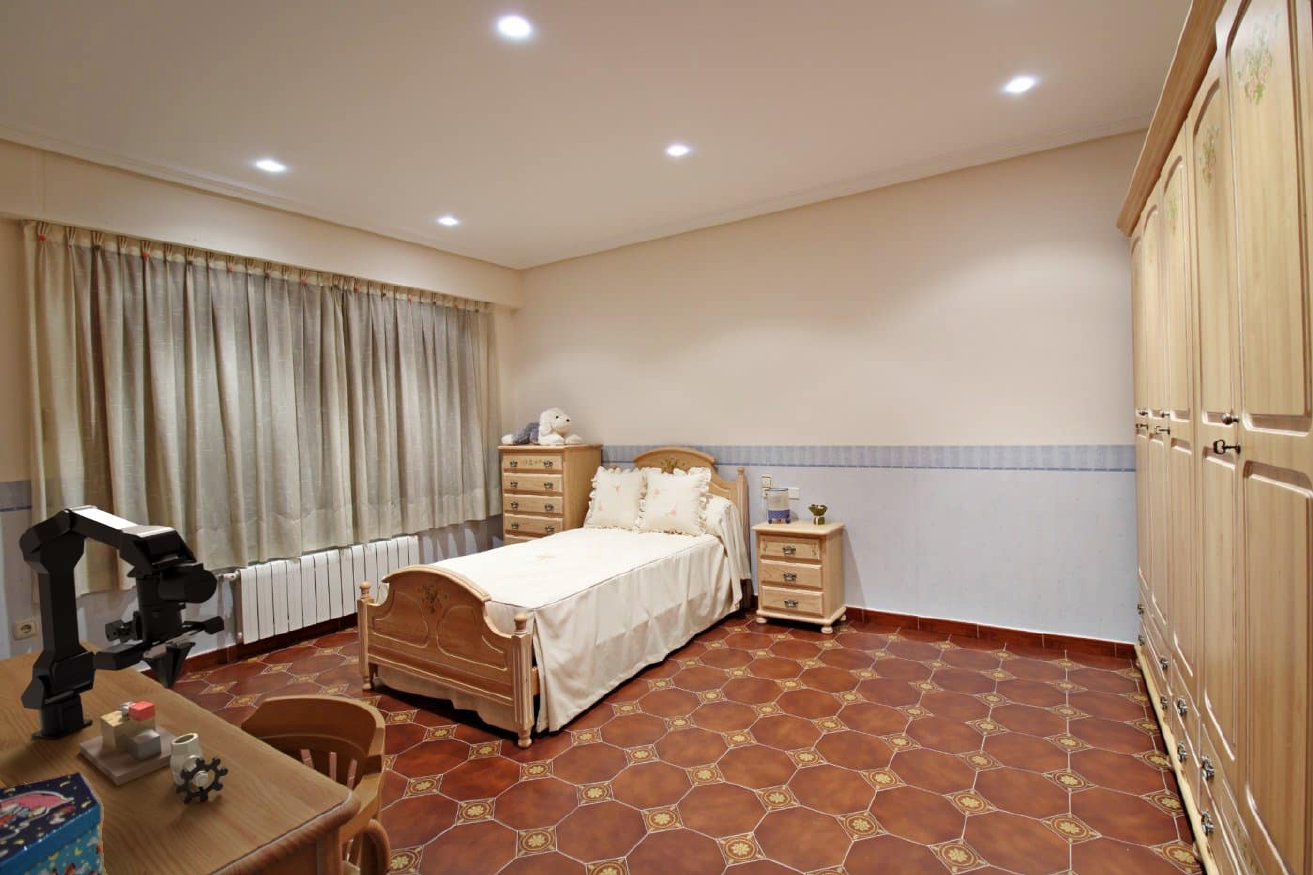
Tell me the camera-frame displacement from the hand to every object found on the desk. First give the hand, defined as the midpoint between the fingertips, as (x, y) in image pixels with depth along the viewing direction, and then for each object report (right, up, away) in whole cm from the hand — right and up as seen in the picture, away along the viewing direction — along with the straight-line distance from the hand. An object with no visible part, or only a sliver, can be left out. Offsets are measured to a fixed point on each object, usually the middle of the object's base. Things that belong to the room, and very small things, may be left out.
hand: (168, 687), depth 110 cm
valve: (+14, -11, -13) cm, 22 cm away
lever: (-4, -4, -2) cm, 6 cm away
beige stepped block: (-5, -9, -1) cm, 11 cm away
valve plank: (-5, -11, -1) cm, 12 cm away
